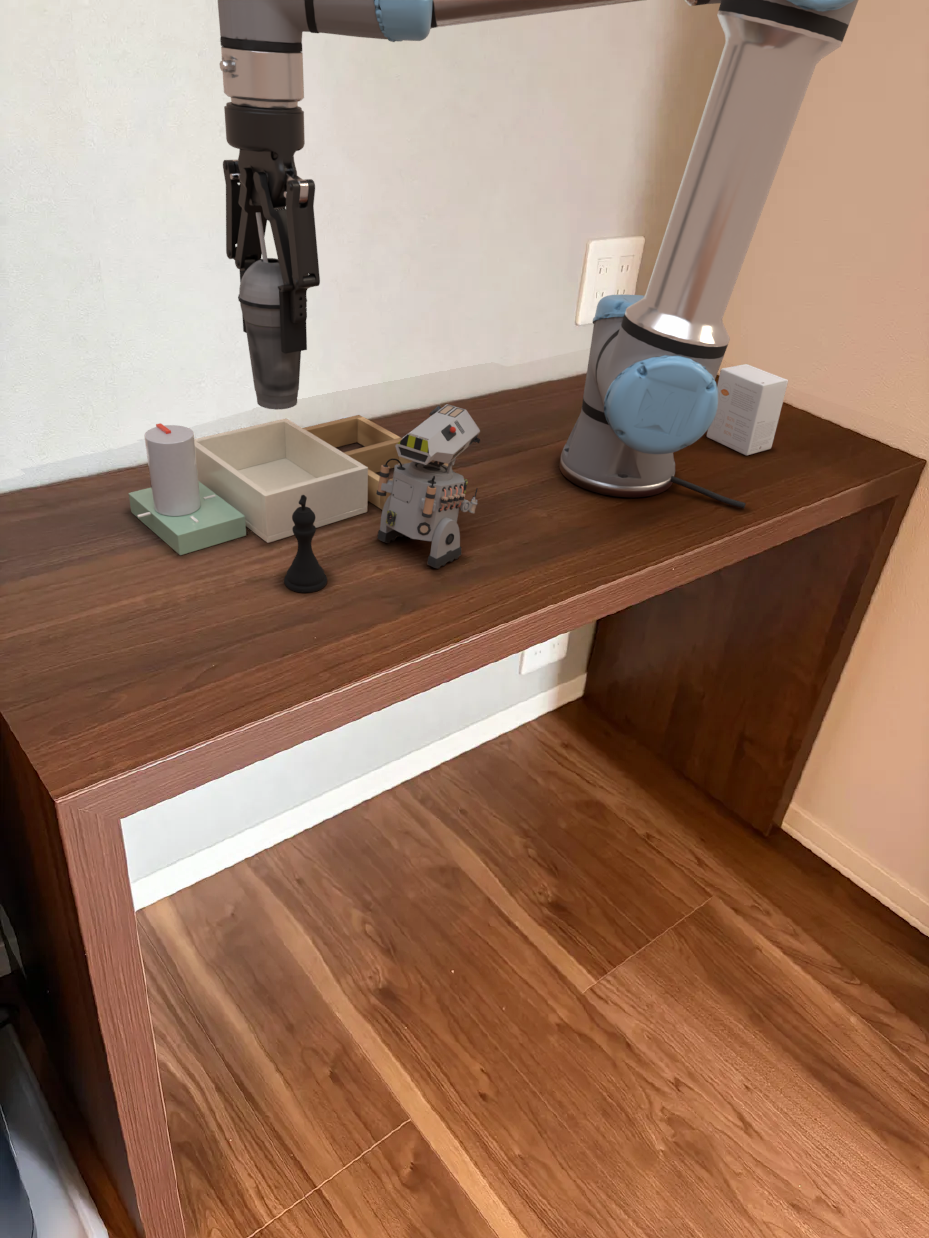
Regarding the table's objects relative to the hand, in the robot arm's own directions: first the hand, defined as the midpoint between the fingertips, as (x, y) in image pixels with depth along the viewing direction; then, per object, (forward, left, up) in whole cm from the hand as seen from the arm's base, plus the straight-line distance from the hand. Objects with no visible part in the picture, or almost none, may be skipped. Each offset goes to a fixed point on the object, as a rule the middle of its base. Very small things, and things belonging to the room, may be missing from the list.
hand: (274, 340), depth 101 cm
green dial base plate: (0, +12, -19) cm, 23 cm away
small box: (-21, -65, -19) cm, 71 cm away
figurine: (-19, -8, -19) cm, 28 cm away
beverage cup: (0, 0, -7) cm, 7 cm away
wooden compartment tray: (0, -13, -19) cm, 23 cm away
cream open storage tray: (0, +1, -19) cm, 19 cm away
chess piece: (-18, +8, -19) cm, 28 cm away
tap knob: (0, +13, -16) cm, 21 cm away
